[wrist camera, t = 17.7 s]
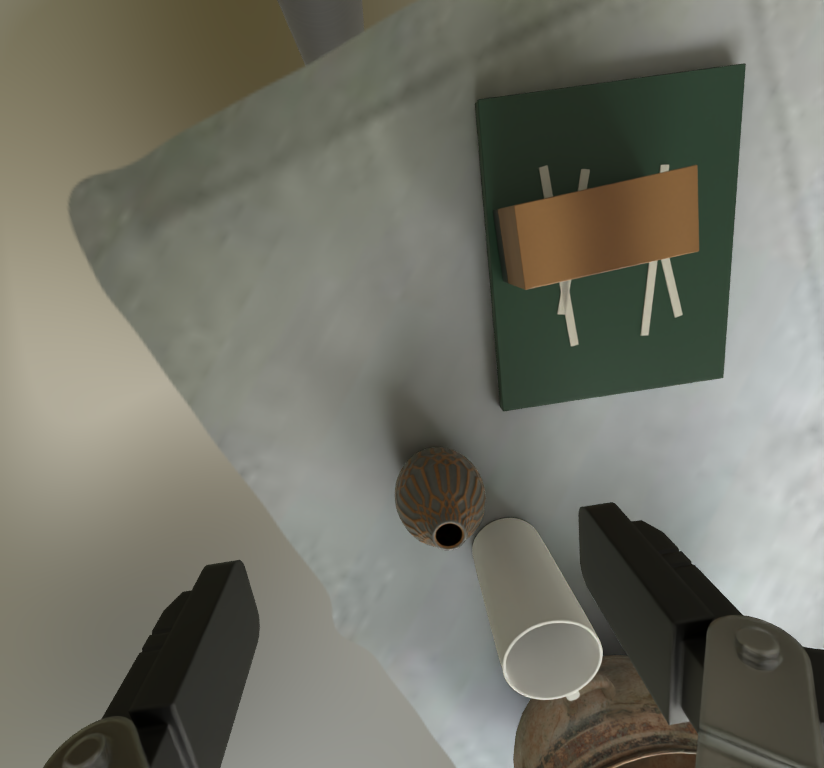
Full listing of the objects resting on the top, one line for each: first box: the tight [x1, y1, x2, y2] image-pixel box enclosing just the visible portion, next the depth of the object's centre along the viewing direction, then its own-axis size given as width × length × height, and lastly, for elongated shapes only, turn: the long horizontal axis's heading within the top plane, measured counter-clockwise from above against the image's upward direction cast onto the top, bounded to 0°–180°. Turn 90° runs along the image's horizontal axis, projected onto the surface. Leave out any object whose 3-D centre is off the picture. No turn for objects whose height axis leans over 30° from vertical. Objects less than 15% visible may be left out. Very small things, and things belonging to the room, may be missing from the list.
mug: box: [472, 518, 603, 701], centre depth 37 cm, size 10×7×12 cm, turn 26°
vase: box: [395, 447, 486, 551], centre depth 36 cm, size 7×7×9 cm
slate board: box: [475, 64, 746, 411], centre depth 35 cm, size 22×18×1 cm
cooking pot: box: [513, 655, 698, 768], centre depth 42 cm, size 25×19×12 cm
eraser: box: [493, 165, 699, 290], centre depth 31 cm, size 11×5×6 cm, turn 102°
